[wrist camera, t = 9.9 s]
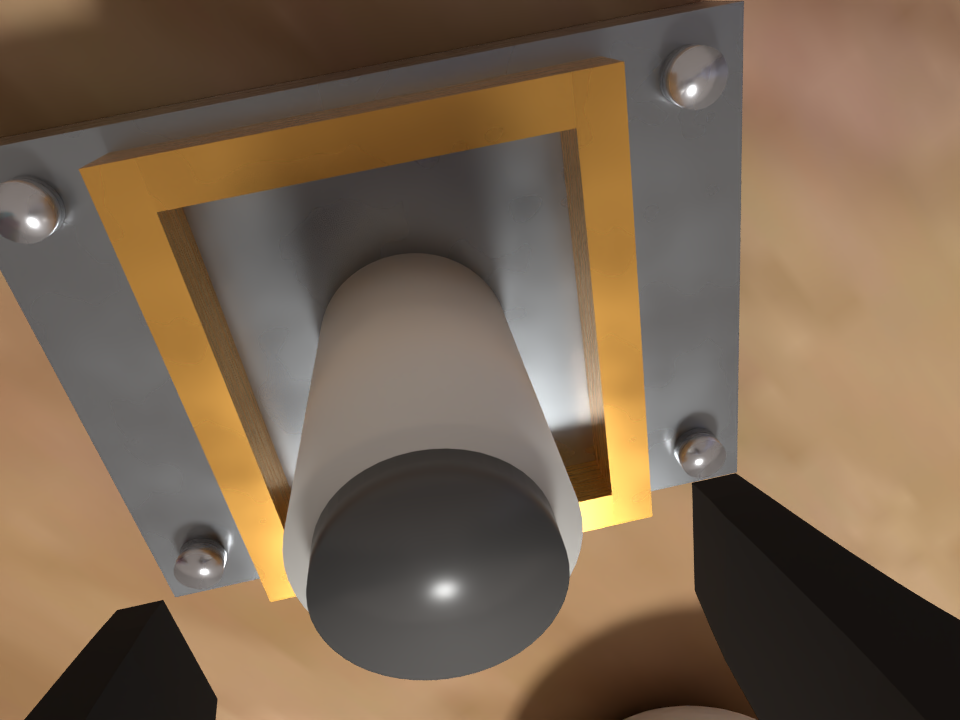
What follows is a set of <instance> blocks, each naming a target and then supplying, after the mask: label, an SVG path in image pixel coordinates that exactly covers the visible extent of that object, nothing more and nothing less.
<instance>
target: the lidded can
mask: <svg viewBox="0 0 960 720" xmlns="http://www.w3.org/2000/svg"><path fill="white" fill-rule="evenodd" d="M582 536H583V522H582V515H581V509H580V505H579V502H578V499H577V497H576V494H575V491H574V489H573V486H572V484H571V481H570V479H569V476H568V474H567V471H566V469H565V466H564V464H563V461H562V459H561V456H560V454H559V451H558V449H557V446H556V444H555V441H554V438H553V436H552V433H551V431H550V428H549V426H548V423H547V421H546V418H545V416H544V413H543V411H542V408H541V406H540V403H539V401H538V398H537V396H536V393H535V391H534V388H533V386H532V383H531V381H530V378H529V376H528V373H527V371H526V368H525V366H524V363H523V360H522V358H521V355H520V353H519V350H518V348H517V345H516V343H515V340H514V338H513V335H512V333H511V330H510V328H509V325H508V323H507V320H506V318H505V315H504V313H503V310H502V308H501V305H500V303H499V301H498V299H497V297H496V296H495V294H494V292H493V291H492V290H491V288H490V287H489V286H488V285H487V283H486V282H485V281H484V280H482V279H481V278H480V277H479V276H478V275H477V274H476V273H474V272H473V271H472V270H470V269H469V268H467V267H465V266H464V265H462V264H460V263H458V262H456V261H453V260H451V259H448V258H445V257H441V256H437V255H432V254H424V253H407V254H399V255H393V256H389V257H385V258H382V259H380V260H377V261H375V262H372V263H370V264H368V265H366V266H365V267H363V268H361V269H359V270H358V271H357V272H355V273H354V274H353V275H351V276H350V277H349V278H348V279H347V280H346V281H345V282H344V283H343V284H342V285H341V286H340V287H339V289H338V290H337V291H336V292H335V294H334V295H333V297H332V299H331V300H330V302H329V304H328V306H327V308H326V311H325V313H324V316H323V321H322V325H321V330H320V335H319V341H318V346H317V352H316V357H315V363H314V368H313V374H312V379H311V385H310V391H309V396H308V402H307V407H306V413H305V418H304V424H303V429H302V435H301V440H300V446H299V451H298V457H297V462H296V468H295V473H294V479H293V484H292V490H291V495H290V501H289V506H288V512H287V517H286V523H285V529H284V534H283V548H282V553H283V561H284V568H285V571H286V574H287V578H288V581H289V583H290V585H291V587H292V589H293V591H294V593H295V595H296V596H297V598H298V599H299V600H300V602H301V603H302V605H303V606H304V607H305V608H306V609H307V610H308V611H309V614H310V618H311V620H312V622H313V624H314V626H315V628H316V630H317V632H318V633H319V634H320V636H321V637H322V638H323V640H324V641H325V642H326V643H327V644H328V645H329V646H330V647H331V648H332V649H333V650H334V651H335V652H337V653H338V654H339V655H341V656H342V657H343V658H345V659H346V660H348V661H350V662H351V663H353V664H355V665H357V666H359V667H361V668H364V669H366V670H368V671H371V672H374V673H378V674H381V675H384V676H389V677H394V678H399V679H409V680H439V679H449V678H455V677H461V676H465V675H469V674H473V673H477V672H480V671H482V670H485V669H488V668H491V667H493V666H495V665H498V664H500V663H502V662H504V661H506V660H508V659H510V658H511V657H513V656H515V655H516V654H518V653H520V652H521V651H522V650H524V649H525V648H527V647H528V646H529V645H531V644H532V643H533V642H534V641H535V640H536V639H537V638H538V637H540V636H541V635H542V634H543V633H544V631H545V630H546V629H547V628H548V627H549V626H550V624H551V623H552V622H553V620H554V619H555V617H556V616H557V614H558V613H559V611H560V609H561V607H562V604H563V602H564V600H565V597H566V594H567V590H568V585H569V578H570V575H571V573H572V571H573V569H574V567H575V565H576V562H577V559H578V556H579V552H580V549H581V543H582Z"/></svg>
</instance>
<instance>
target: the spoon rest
mask: <svg viewBox="0 0 960 720" xmlns="http://www.w3.org/2000/svg"><path fill="white" fill-rule="evenodd" d="M623 720H756V719H754V718H751V717H749V716H746V715H743V714H740V713H737V712H733V711H729V710H725V709H720V708H712V707H704V706H674V707H664V708H659V709H654V710H648V711H645V712H642V713H639V714H636V715H633V716H631V717H628V718H626V719H623Z"/></svg>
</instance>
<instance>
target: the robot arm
mask: <svg viewBox="0 0 960 720" xmlns="http://www.w3.org/2000/svg"><path fill="white" fill-rule="evenodd" d="M692 497H693V538H694V579H695V592H696V594H697V597H698V599H699V601H700V604H701V606H702V609H703V611H704V613H705V616H706V618H707V620H708V623H709V625H710V627H711V630H712V632H713V634H714V636H715V639H716V641H717V643H718V645H719V648H720V650H721V652H722V654H723V656H724V659H725V661H726V663H727V664H728V666H729V668H730V670H731V672H732V673H733V675H734V677H735V679H736V680H737V682H738V684H739V686H740V687H741V689H742V691H743V693H744V694H745V696H746V698H747V700H748V702H749V703H750V705H751V707H752V709H753V710H754V712H755V714H756V716H757V717H758V719H759V720H960V620H959V619H957V618H956V617H954V616H952V615H950V614H949V613H947V612H945V611H944V610H942V609H940V608H939V607H937V606H935V605H933V604H932V603H930V602H928V601H927V600H925V599H923V598H922V597H920V596H918V595H917V594H915V593H914V592H912V591H910V590H909V589H907V588H905V587H904V586H902V585H901V584H899V583H897V582H896V581H894V580H893V579H891V578H890V577H888V576H887V575H885V574H884V573H882V572H880V571H879V570H877V569H876V568H874V567H873V566H871V565H870V564H868V563H867V562H865V561H863V560H862V559H860V558H859V557H857V556H856V555H854V554H853V553H851V552H850V551H848V550H847V549H845V548H844V547H842V546H841V545H839V544H838V543H836V542H835V541H833V540H832V539H830V538H829V537H827V536H826V535H824V534H823V533H821V532H820V531H818V530H817V529H816V528H814V527H813V526H811V525H810V524H808V523H807V522H805V521H804V520H802V519H801V518H799V517H798V516H797V515H795V514H794V513H792V512H791V511H789V510H788V509H787V508H785V507H784V506H782V505H781V504H779V503H778V502H776V501H775V500H774V499H772V498H771V497H769V496H768V495H766V494H765V493H764V492H762V491H761V490H759V489H758V488H756V487H755V486H753V485H752V484H750V483H749V482H748V481H746V480H745V479H743V478H742V477H740V476H739V475H737V474H736V473H735V474H730V475H726V476H721V477H717V478H712V479H708V480H703V481H699V482H694V483H692ZM216 708H217V697H216V695H215V694H214V692H213V690H212V688H211V686H210V684H209V683H208V681H207V679H206V677H205V675H204V674H203V672H202V670H201V668H200V666H199V664H198V663H197V661H196V659H195V657H194V655H193V653H192V652H191V650H190V648H189V646H188V644H187V643H186V641H185V639H184V637H183V635H182V633H181V632H180V630H179V628H178V626H177V624H176V623H175V621H174V619H173V617H172V615H171V613H170V612H169V610H168V608H167V606H166V604H165V602H164V601H163V600H161V601H157V602H152V603H148V604H143V605H139V606H134V607H129V608H125V609H120V610H117V611H116V612H115V613H114V614H113V615H112V617H111V618H110V619H109V620H108V621H107V622H106V623H105V624H104V625H103V627H102V628H101V629H100V630H99V631H98V632H97V634H96V635H95V636H94V637H93V638H92V639H91V641H90V642H89V643H88V644H87V645H86V646H85V648H84V649H83V650H82V651H81V652H80V654H79V655H78V656H77V657H76V658H75V660H74V661H73V662H72V663H71V664H70V666H69V667H68V668H67V669H66V670H65V672H64V673H63V674H62V675H61V676H60V678H59V679H58V680H57V681H56V682H55V684H54V685H53V686H52V687H51V688H50V690H49V691H48V692H47V693H46V694H45V696H44V697H43V698H42V699H41V700H40V702H39V703H38V704H37V705H36V706H35V708H34V709H33V710H32V711H31V712H30V714H29V715H28V716H27V717H26V718H25V719H24V720H215V719H216Z"/></svg>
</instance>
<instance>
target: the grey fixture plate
mask: <svg viewBox="0 0 960 720" xmlns="http://www.w3.org/2000/svg"><path fill="white" fill-rule="evenodd" d="M743 17H744V1H702V2H697V3H691V4H686V5H681V6H676V7H671V8H666V9H661V10H655V11H650V12H645V13H640V14H635V15H630V16H625V17H619V18H614V19H609V20H604V21H599V22H594V23H589V24H583V25H578V26H573V27H568V28H563V29H558V30H553V31H547V32H542V33H537V34H532V35H527V36H522V37H517V38H512V39H506V40H501V41H496V42H491V43H486V44H481V45H476V46H470V47H465V48H460V49H455V50H450V51H445V52H440V53H434V54H429V55H424V56H419V57H414V58H409V59H404V60H398V61H393V62H388V63H383V64H378V65H373V66H368V67H362V68H357V69H352V70H347V71H342V72H337V73H332V74H327V75H321V76H316V77H311V78H306V79H301V80H296V81H291V82H285V83H280V84H275V85H270V86H265V87H260V88H255V89H249V90H244V91H239V92H234V93H229V94H224V95H219V96H213V97H208V98H203V99H198V100H193V101H188V102H183V103H177V104H172V105H167V106H162V107H157V108H152V109H147V110H141V111H136V112H131V113H126V114H121V115H116V116H111V117H106V118H100V119H95V120H90V121H85V122H80V123H75V124H70V125H64V126H59V127H54V128H49V129H44V130H39V131H34V132H28V133H23V134H18V135H13V136H8V137H3V138H0V270H1V272H2V274H3V276H4V277H5V279H6V281H7V283H8V285H9V287H10V289H11V290H12V292H13V294H14V296H15V298H16V300H17V302H18V304H19V305H20V307H21V309H22V311H23V313H24V315H25V317H26V319H27V320H28V322H29V324H30V326H31V328H32V330H33V332H34V334H35V335H36V337H37V339H38V341H39V343H40V345H41V347H42V348H43V350H44V352H45V354H46V356H47V358H48V360H49V362H50V363H51V365H52V367H53V369H54V371H55V373H56V375H57V377H58V378H59V380H60V382H61V384H62V386H63V388H64V390H65V392H66V393H67V395H68V397H69V399H70V401H71V403H72V405H73V406H74V408H75V410H76V412H77V414H78V416H79V418H80V420H81V421H82V423H83V425H84V427H85V429H86V431H87V433H88V435H89V436H90V438H91V440H92V442H93V444H94V446H95V448H96V450H97V451H98V453H99V455H100V457H101V459H102V461H103V463H104V464H105V466H106V468H107V470H108V472H109V474H110V476H111V478H112V479H113V481H114V483H115V485H116V487H117V489H118V491H119V493H120V494H121V496H122V498H123V500H124V502H125V504H126V506H127V507H128V509H129V511H130V513H131V515H132V517H133V519H134V521H135V522H136V524H137V526H138V528H139V530H140V532H141V534H142V536H143V537H144V539H145V541H146V543H147V545H148V547H149V549H150V551H151V552H152V554H153V556H154V558H155V560H156V562H157V564H158V565H159V567H160V569H161V571H162V573H163V575H164V577H165V579H166V580H167V582H168V584H169V586H170V588H171V590H172V592H173V594H174V595H175V597H179V596H183V595H188V594H192V593H197V592H201V591H206V590H210V589H215V588H219V587H223V586H228V585H232V584H237V583H241V582H246V581H250V580H255V579H259V578H260V580H261V582H262V584H263V586H264V589H265V591H266V593H267V595H268V598H269V600H270V602H273V601H278V600H282V599H286V598H291V597H295V596H296V595H295V593H294V591H293V589H292V587H291V585H290V583H289V581H288V578H287V574H286V571H285V568H284V561H283V553H282V548H283V534H284V529H285V523H286V517H287V512H288V506H289V501H290V495H291V490H292V484H293V479H294V473H295V468H296V462H297V457H298V451H299V446H300V440H301V435H302V429H303V424H304V418H305V413H306V407H307V402H308V396H309V391H310V385H311V379H312V374H313V368H314V363H315V357H316V352H317V346H318V341H319V335H320V330H321V325H322V321H323V316H324V313H325V311H326V308H327V306H328V304H329V302H330V300H331V299H332V297H333V295H334V294H335V292H336V291H337V290H338V289H339V287H340V286H341V285H342V284H343V283H344V282H345V281H346V280H347V279H348V278H349V277H350V276H351V275H353V274H354V273H355V272H357V271H358V270H359V269H361V268H363V267H365V266H366V265H368V264H370V263H372V262H375V261H377V260H380V259H382V258H385V257H389V256H393V255H399V254H407V253H424V254H432V255H437V256H441V257H445V258H448V259H451V260H453V261H456V262H458V263H460V264H462V265H464V266H465V267H467V268H469V269H470V270H472V271H473V272H474V273H476V274H477V275H478V276H479V277H480V278H481V279H482V280H484V281H485V282H486V283H487V285H488V286H489V287H490V288H491V290H492V291H493V292H494V294H495V296H496V297H497V299H498V301H499V303H500V305H501V308H502V310H503V313H504V315H505V318H506V320H507V323H508V325H509V328H510V330H511V333H512V335H513V338H514V340H515V343H516V345H517V348H518V350H519V353H520V355H521V358H522V360H523V363H524V366H525V368H526V371H527V373H528V376H529V378H530V381H531V383H532V386H533V388H534V391H535V393H536V396H537V398H538V401H539V403H540V406H541V408H542V411H543V413H544V416H545V418H546V421H547V423H548V426H549V428H550V431H551V433H552V436H553V438H554V441H555V444H556V446H557V449H558V451H559V454H560V456H561V459H562V461H563V464H564V466H565V469H566V471H567V474H568V476H569V479H570V481H571V484H572V486H573V489H574V491H575V494H576V497H577V499H578V502H579V505H580V509H581V515H582V522H583V532H585V531H590V530H594V529H598V528H603V527H607V526H612V525H616V524H621V523H625V522H630V521H634V520H639V519H643V518H647V517H652V503H651V491H654V490H659V489H663V488H668V487H672V486H677V485H681V484H686V483H690V482H695V481H699V480H704V479H708V478H713V477H717V476H721V475H726V474H730V473H735V472H737V427H738V358H739V290H740V222H741V153H742V85H743Z"/></svg>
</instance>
